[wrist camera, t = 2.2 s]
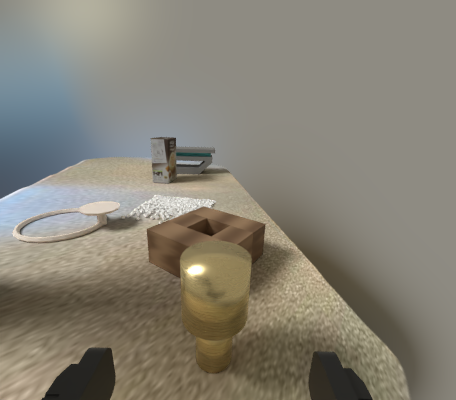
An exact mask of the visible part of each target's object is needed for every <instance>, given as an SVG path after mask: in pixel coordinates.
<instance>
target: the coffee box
mask: <svg viewBox="0 0 456 400" xmlns="http://www.w3.org/2000/svg"><path fill="white" fill-rule="evenodd" d="M151 152H152V171H153V182H156V183H170V182H172V181H173V180H175V179H176V178H177V170H176V138H169V137H168V138H167V137H159V138H151Z"/></svg>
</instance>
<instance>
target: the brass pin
mask: <svg viewBox="0 0 456 400" xmlns="http://www.w3.org/2000/svg"><path fill="white" fill-rule="evenodd" d="M251 264H252V258H251V255H250V254H249V252H248V251H247V250H246V249H244V248H243V247H241V246H239V245H237V244H234V243H231V242H226V241H205V242H200V243H197V244H194V245H192V246H190V247H188V248H187V249H186V250H185V251H184V252H183V253H182V255H181V257H180V273H181V308H182V321H183V324H184V326H185V328H186V329H187V330H188V331H189V332H190V333H191V334H192V335H194V336H196V361H197V364H198V365H199V367H200V368H201V369H202V370H204V371H206V372H208V373H218V372H221V371H223V370H224V369H226V368H227V367H228V365H229V364H230V361H231V354H232V337H233V336H234V335H236V334H237V333H239V332H240V331H241V330H242V329H243V327H244V326H245V324H246V321H247V315H248V302H249V289H250V277H251Z"/></svg>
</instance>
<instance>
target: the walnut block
mask: <svg viewBox="0 0 456 400" xmlns="http://www.w3.org/2000/svg"><path fill="white" fill-rule="evenodd" d="M264 233H265V224H263V223H260V222H256V221H253V220H249V219H246V218H242V217H239V216H235V215H232V214H228V213H225V212H221V211H218V210H215V209H211V208H208V207H204V206H203V207H201V208H198V209H196V210H193V211H191V212H188V213H186V214H183V215H181V216H178V217H176V218H173V219H171V220H168V221H166V222H163V223H161V224H158V225H156V226H153V227H151V228H148V229H147V237H148V251H149V262H151V263H153V264H154V265H156V266H158V267H160V268H162V269H164V270H166V271H168V272H170V273H172V274H173V275H175V276H177V277H179V278H181V273H180V257H181V255H182V253H183V252H184V251H185V250H186V249H187V248H188V247H190V246H192V245H194V244H197V243H200V242H205V241H226V242H231V243H234V244H237V245H239V246H241V247H243V248H244V249H246V250H247V251H248V252H249V254H250V255H251V258H252V264H253V263H254V262H255V261H256V260H257V259H258V258H259V257H260V256H261V255H262V254H263V244H264Z"/></svg>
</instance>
